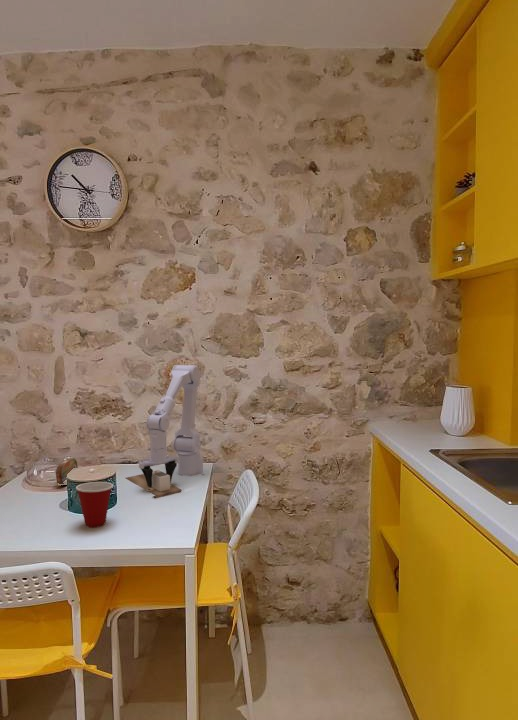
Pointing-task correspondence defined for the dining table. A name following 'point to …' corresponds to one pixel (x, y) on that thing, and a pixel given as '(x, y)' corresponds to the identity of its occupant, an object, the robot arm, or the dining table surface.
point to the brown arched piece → (65, 469)
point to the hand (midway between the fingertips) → (159, 484)
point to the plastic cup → (94, 502)
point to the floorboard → (142, 482)
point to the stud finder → (160, 480)
